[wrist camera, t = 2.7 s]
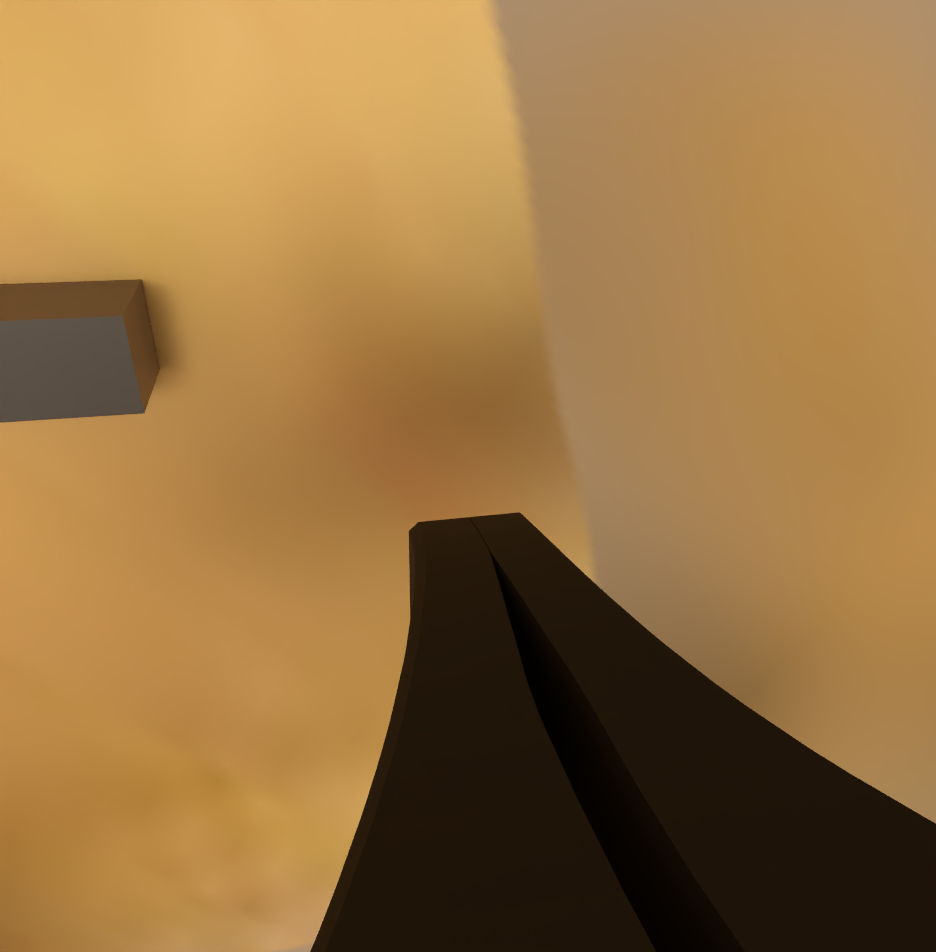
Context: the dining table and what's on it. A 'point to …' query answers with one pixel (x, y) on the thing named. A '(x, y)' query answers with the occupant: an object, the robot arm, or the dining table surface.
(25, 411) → the plug
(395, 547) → the dining table surface
